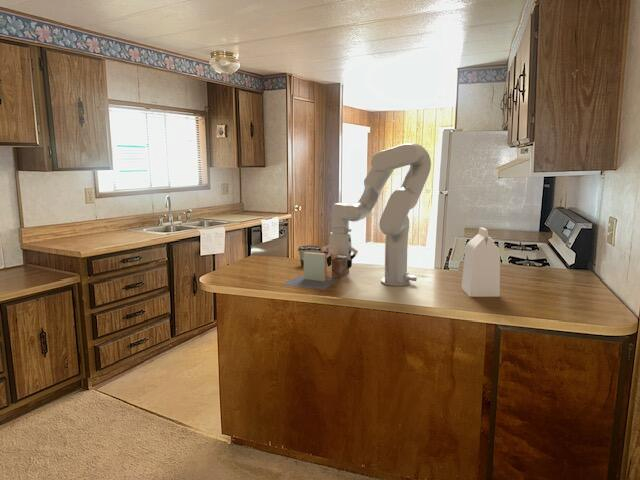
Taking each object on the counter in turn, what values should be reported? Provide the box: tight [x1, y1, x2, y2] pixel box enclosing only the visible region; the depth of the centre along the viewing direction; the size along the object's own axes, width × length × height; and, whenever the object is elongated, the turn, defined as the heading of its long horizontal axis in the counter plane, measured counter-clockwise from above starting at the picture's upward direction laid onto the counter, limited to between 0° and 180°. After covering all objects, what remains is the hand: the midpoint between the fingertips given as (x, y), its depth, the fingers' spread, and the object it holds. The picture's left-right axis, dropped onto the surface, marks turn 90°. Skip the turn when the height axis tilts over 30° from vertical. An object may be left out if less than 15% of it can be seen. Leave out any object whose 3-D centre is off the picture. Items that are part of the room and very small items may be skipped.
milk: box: [461, 227, 501, 298], centre depth 180 cm, size 12×12×26 cm
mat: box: [282, 274, 340, 291], centre depth 198 cm, size 20×17×1 cm
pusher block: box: [331, 255, 350, 280], centre depth 208 cm, size 4×12×9 cm, turn 157°
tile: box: [303, 252, 327, 281], centre depth 200 cm, size 10×2×12 cm, turn 67°
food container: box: [297, 244, 323, 268], centre depth 230 cm, size 12×6×10 cm, turn 84°
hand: (339, 266), depth 208 cm, fingers open, 9 cm apart
